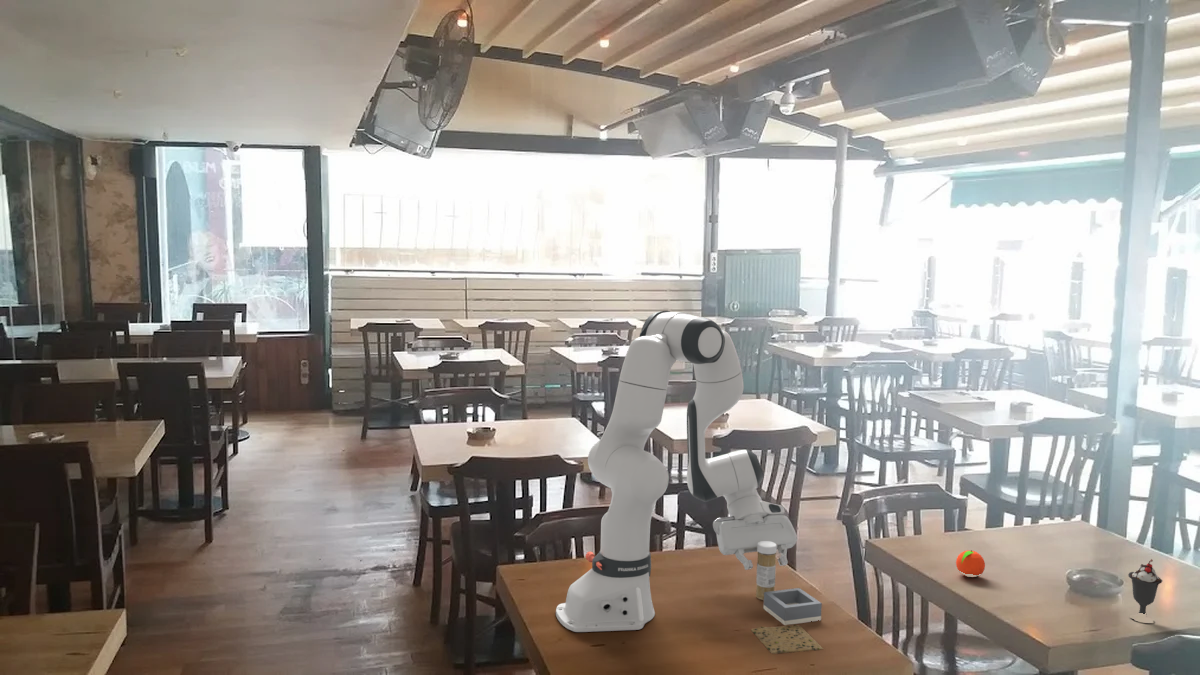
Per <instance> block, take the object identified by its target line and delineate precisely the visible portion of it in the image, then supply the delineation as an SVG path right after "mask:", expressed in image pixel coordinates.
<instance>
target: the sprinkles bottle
mask: <svg viewBox="0 0 1200 675" xmlns="http://www.w3.org/2000/svg"><path fill="white" fill-rule="evenodd" d="M757 551H758V552H757V562H756V581H755V582H756V589H755V590H756V592H755V597H756V598H757V599H759V600H760V601H764V592H770V591H775V586H776V567H777V563H776V559H777V558H776V555H777V551H778V549H777V545H776V544H775V543H774V542H770V541H760V542H758V544H757Z"/></svg>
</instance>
